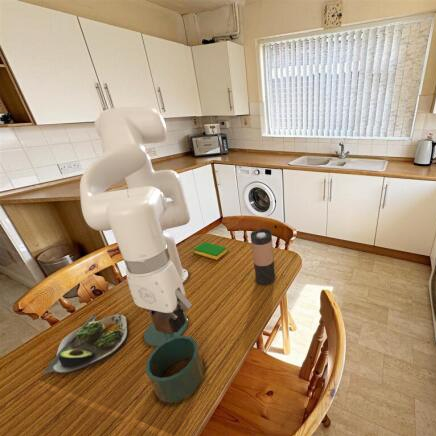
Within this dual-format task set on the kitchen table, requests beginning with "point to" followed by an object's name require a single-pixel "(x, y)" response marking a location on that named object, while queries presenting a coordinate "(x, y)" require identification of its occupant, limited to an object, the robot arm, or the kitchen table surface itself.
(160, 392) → the pot
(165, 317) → the block
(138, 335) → the kitchen table surface
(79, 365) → the salad plate
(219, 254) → the dish sponge
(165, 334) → the lid
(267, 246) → the travel mug
